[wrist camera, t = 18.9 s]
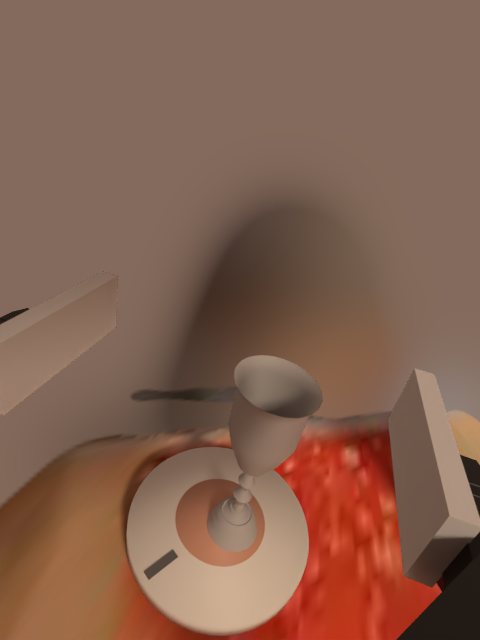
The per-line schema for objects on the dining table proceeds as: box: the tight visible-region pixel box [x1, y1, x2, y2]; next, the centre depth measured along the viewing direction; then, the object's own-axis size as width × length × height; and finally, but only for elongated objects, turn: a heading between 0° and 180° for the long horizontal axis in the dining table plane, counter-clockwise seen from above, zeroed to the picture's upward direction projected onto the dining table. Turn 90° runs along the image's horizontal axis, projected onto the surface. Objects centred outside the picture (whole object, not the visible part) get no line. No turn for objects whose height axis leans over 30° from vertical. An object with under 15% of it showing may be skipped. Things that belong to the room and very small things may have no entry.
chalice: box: [207, 355, 322, 552], centre depth 33 cm, size 7×7×18 cm
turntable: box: [126, 447, 309, 636], centre depth 38 cm, size 18×18×2 cm
